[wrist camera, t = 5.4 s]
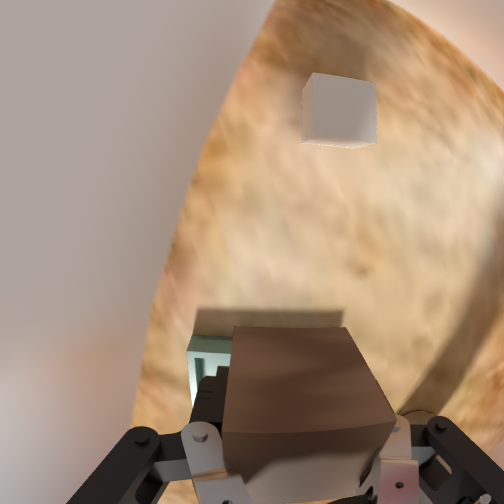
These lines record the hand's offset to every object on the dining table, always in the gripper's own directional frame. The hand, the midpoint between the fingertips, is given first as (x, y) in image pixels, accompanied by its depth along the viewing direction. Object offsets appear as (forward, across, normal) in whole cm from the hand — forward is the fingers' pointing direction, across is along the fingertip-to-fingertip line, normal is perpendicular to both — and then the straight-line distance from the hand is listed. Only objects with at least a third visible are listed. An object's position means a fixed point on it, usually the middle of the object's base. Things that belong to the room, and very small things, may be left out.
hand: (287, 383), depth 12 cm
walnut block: (+1, 0, 0) cm, 1 cm away
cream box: (+15, -5, -15) cm, 22 cm away
